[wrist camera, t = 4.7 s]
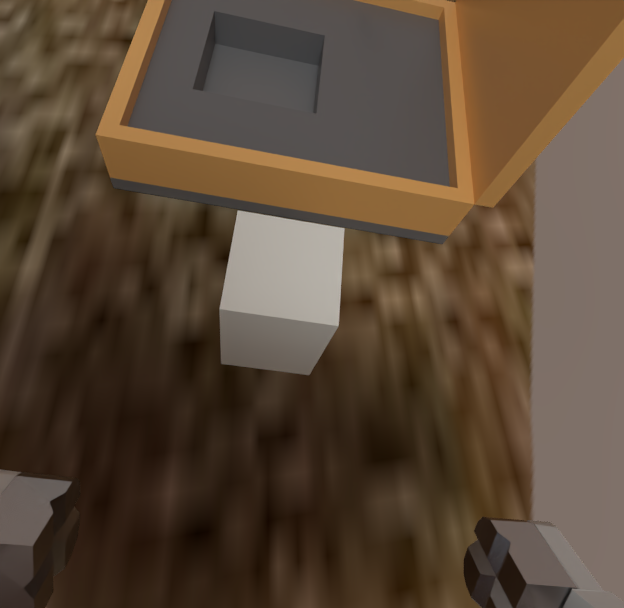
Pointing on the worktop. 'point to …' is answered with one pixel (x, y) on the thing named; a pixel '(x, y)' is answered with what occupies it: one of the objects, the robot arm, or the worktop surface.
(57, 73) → the worktop surface
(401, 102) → the equipment case
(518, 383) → the worktop surface
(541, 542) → the robot arm
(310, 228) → the plate
